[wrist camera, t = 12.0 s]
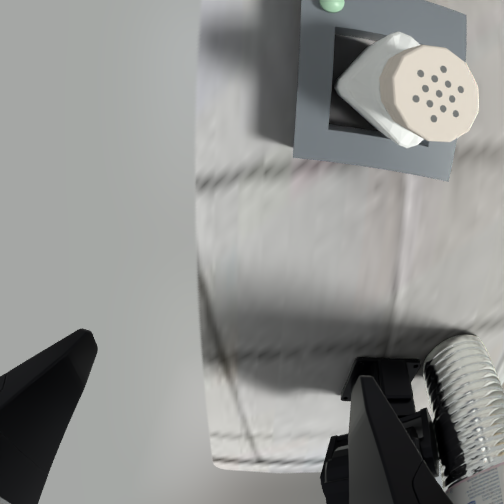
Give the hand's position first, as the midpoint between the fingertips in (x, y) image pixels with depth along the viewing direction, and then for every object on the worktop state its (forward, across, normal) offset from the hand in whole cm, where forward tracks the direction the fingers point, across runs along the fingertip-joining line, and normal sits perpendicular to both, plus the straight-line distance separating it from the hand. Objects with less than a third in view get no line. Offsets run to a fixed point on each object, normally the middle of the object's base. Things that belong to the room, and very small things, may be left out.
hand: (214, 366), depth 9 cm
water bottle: (+13, -19, +13) cm, 26 cm away
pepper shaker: (+13, -6, -8) cm, 17 cm away
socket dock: (+13, -6, -9) cm, 17 cm away
